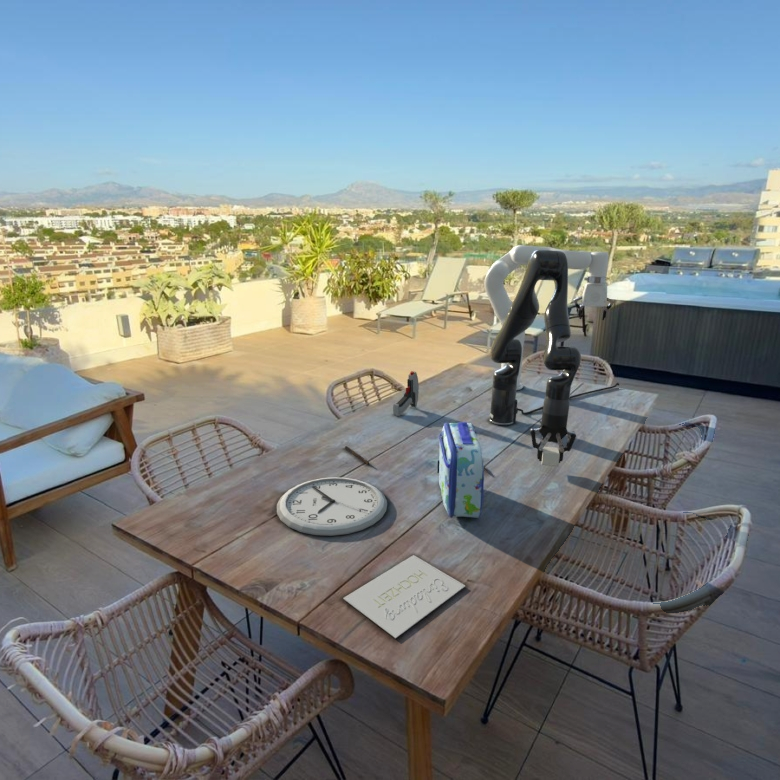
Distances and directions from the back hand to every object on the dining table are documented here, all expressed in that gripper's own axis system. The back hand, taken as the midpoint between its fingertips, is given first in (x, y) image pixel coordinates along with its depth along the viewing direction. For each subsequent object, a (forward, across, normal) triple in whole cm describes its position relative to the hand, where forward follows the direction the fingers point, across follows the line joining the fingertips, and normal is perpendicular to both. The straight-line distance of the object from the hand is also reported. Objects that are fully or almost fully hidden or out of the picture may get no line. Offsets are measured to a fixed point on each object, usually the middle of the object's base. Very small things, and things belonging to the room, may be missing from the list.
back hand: (591, 319), depth 236 cm
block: (+32, -24, -90) cm, 98 cm away
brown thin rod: (+35, -86, -94) cm, 132 cm away
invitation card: (+35, -59, -157) cm, 171 cm away
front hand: (+32, -24, -90) cm, 98 cm away
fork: (+35, -46, -90) cm, 107 cm away
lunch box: (+35, -51, -116) cm, 131 cm away
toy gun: (+35, -77, -46) cm, 96 cm away
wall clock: (+35, -84, -126) cm, 155 cm away
